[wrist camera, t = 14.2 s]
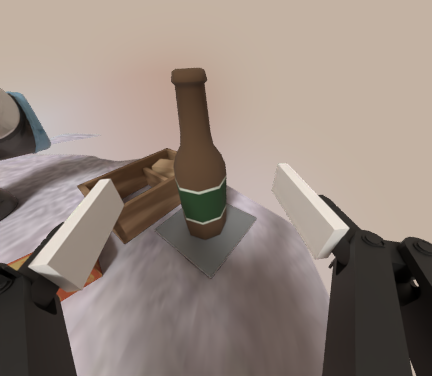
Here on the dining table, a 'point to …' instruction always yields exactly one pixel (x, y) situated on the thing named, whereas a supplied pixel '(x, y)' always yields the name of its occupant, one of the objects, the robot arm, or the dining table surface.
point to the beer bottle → (198, 158)
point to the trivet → (211, 248)
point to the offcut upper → (164, 167)
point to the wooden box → (144, 203)
